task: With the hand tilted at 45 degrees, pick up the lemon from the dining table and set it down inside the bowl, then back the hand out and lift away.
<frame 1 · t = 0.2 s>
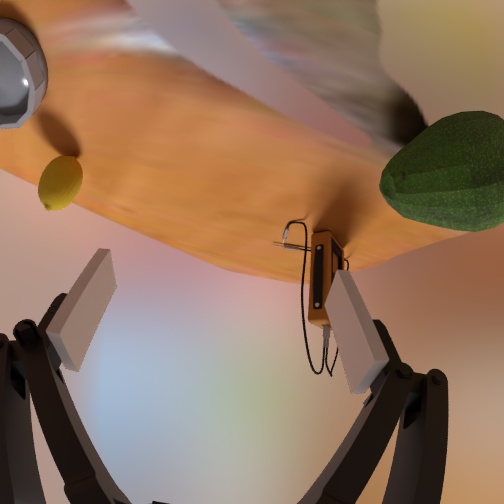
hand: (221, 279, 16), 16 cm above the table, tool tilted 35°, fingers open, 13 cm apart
bowl: (3, 70, 15), on the table
lemon: (74, 155, 30), on the table
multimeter: (307, 243, 45), on the table
fruit: (441, 134, 21), on the table
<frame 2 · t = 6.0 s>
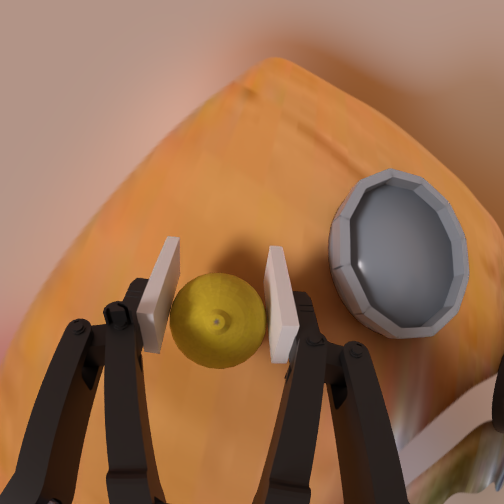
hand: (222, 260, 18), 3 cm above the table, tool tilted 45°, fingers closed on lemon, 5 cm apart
bowl: (399, 256, 23), on the table
lemon: (218, 320, 20), on the table, touching gripper
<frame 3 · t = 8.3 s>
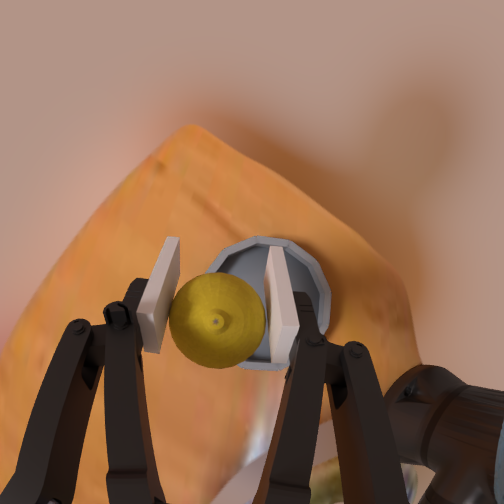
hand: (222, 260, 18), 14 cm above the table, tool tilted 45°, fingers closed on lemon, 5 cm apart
bowl: (263, 304, 32), on the table
lemon: (218, 320, 20), point 11 cm above the table, touching gripper
when the fingers open (6 cm above the table, at t = 10.6 s): lemon drops 1 cm, resting on bowl.
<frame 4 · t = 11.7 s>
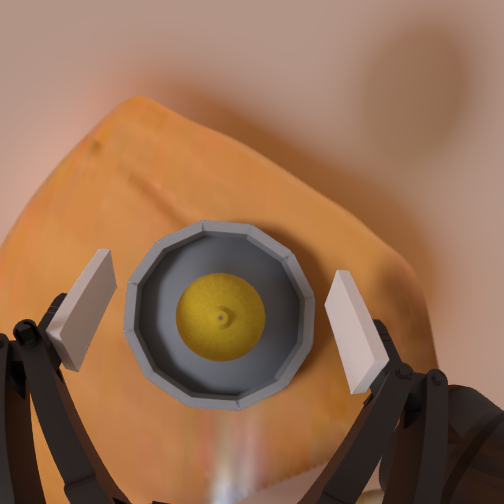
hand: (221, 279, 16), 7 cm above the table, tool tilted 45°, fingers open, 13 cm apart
bowl: (219, 316, 22), on the table
lemon: (219, 317, 22), point 1 cm above the table, touching bowl
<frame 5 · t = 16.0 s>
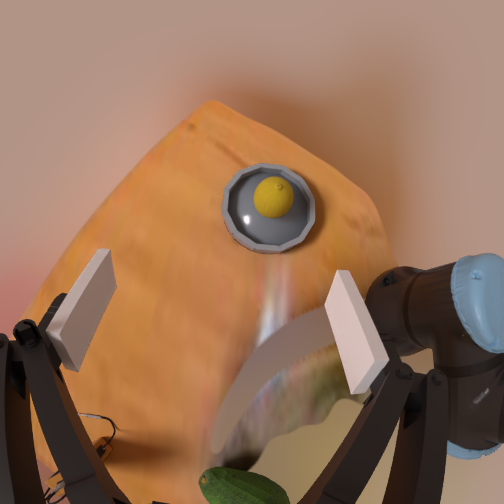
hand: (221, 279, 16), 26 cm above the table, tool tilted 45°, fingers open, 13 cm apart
bowl: (267, 210, 45), on the table
lemon: (268, 208, 44), point 1 cm above the table, touching bowl
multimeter: (81, 433, 33), on the table
fruit: (242, 482, 35), on the table
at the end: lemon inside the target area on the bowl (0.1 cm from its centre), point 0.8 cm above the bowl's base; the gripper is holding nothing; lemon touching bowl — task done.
